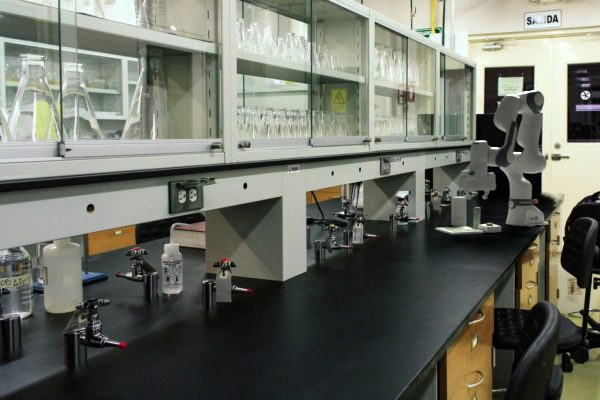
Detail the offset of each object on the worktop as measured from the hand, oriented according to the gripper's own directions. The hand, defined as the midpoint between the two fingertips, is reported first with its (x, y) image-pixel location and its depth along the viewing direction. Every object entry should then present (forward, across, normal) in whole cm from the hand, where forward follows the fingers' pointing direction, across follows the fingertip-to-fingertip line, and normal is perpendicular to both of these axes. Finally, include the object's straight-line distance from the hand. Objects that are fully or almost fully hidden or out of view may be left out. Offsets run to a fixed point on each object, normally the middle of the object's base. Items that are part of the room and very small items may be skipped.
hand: (476, 198), depth 319 cm
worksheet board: (+16, +13, +6) cm, 21 cm away
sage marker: (+15, -1, 0) cm, 16 cm away
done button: (+14, -2, +10) cm, 17 cm away
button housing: (+15, -2, +10) cm, 18 cm away
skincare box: (+16, +3, -11) cm, 20 cm away
